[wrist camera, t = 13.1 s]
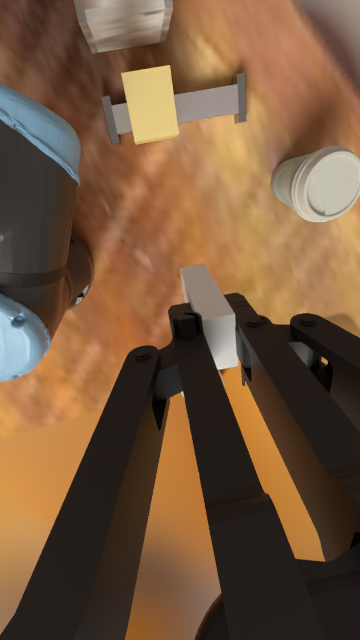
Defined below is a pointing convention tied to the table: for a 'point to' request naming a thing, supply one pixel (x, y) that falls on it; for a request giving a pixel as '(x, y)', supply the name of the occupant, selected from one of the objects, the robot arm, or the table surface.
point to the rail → (187, 107)
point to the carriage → (151, 104)
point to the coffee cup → (319, 183)
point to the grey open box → (123, 22)
